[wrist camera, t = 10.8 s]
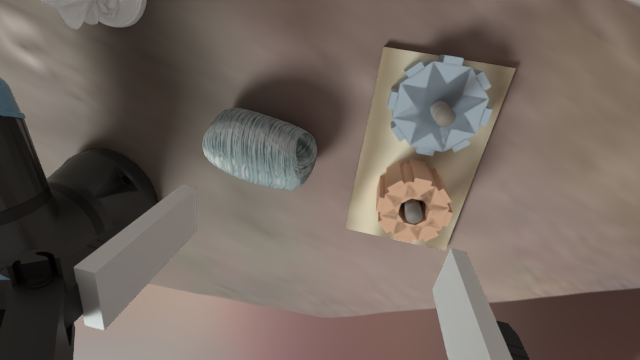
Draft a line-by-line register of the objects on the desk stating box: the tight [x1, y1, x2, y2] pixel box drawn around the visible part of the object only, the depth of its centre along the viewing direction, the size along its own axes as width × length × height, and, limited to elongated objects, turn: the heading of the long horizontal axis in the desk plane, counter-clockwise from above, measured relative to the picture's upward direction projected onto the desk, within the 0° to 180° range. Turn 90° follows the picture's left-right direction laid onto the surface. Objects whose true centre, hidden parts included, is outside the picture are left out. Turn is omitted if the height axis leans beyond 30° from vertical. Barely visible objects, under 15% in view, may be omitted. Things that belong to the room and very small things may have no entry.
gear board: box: [345, 47, 516, 251], centre depth 36 cm, size 14×24×8 cm, turn 172°
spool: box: [202, 108, 317, 190], centre depth 39 cm, size 14×10×10 cm
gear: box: [387, 54, 493, 156], centre depth 35 cm, size 10×10×3 cm
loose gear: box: [376, 159, 453, 243], centre depth 38 cm, size 8×8×6 cm
